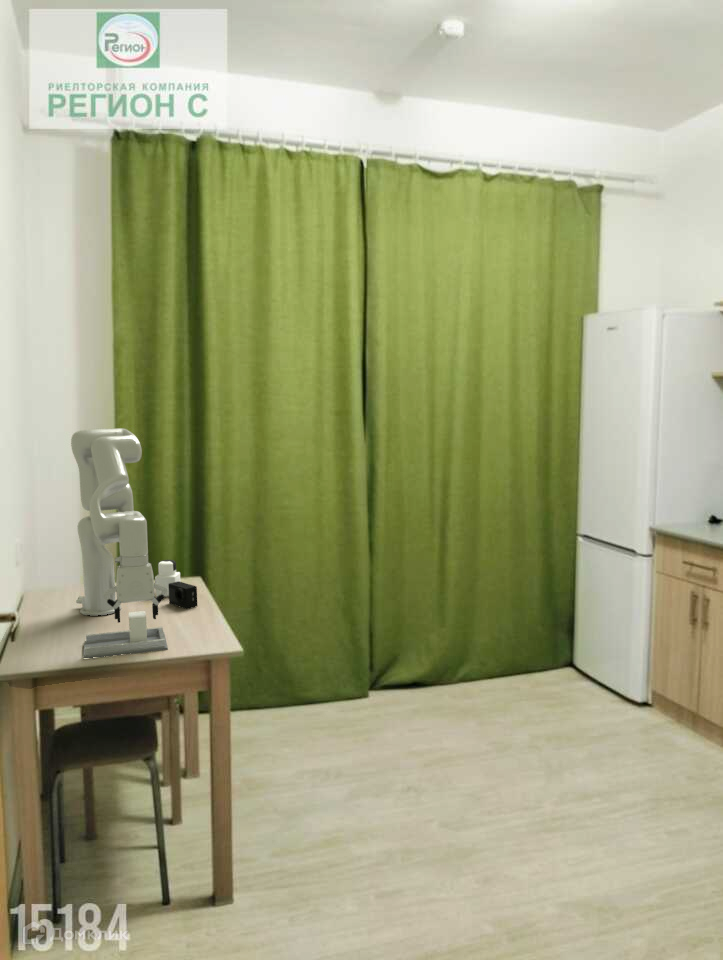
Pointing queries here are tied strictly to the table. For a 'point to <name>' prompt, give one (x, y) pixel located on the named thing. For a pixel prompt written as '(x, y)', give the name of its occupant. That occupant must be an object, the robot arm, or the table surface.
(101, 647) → the rail guides
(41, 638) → the table surface
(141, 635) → the block
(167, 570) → the medicine bottle
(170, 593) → the digital camera
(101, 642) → the plate
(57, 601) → the table surface
